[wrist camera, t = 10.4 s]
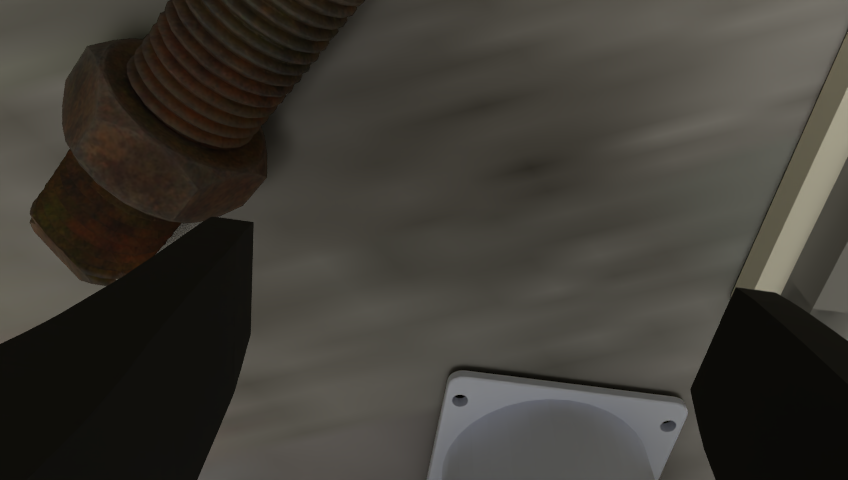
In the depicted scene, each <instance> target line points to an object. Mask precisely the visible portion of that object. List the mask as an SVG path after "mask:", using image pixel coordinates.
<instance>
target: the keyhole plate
mask: <svg viewBox="0 0 848 480" xmlns="http://www.w3.org/2000/svg"><path fill="white" fill-rule="evenodd" d="M736 287H739V288H746V289H754V290H761V291H768V292H775V293H777V294H779V295H781V296H782V297H784V298H786V299H788V300H789V301H791V302H793V303H794V304H796V305H797V306H799V307H800V308H802V309H803V310H805V311H806V312H808V313H809V314H811V315H812V316H814V317H815V318H816V319H818V320H819V321H821V322H822V323H824V324H825V325H826V326H828V327H829V328H831V329H832V330H833V331H835V332H836V333H838V334H839V335H840V336H842V337H843V338H845V339H846V340H847V341H848V32H847V34H846V37H845V39H844V41H843V43H842V46H841V48H840V50H839V52H838V55H837V57H836V59H835V61H834V64H833V66H832V68H831V71H830V73H829V75H828V77H827V80H826V82H825V84H824V86H823V89H822V91H821V93H820V95H819V98H818V100H817V102H816V104H815V107H814V109H813V111H812V113H811V116H810V118H809V120H808V122H807V125H806V127H805V129H804V131H803V134H802V136H801V138H800V140H799V143H798V145H797V147H796V149H795V152H794V154H793V156H792V159H791V161H790V163H789V165H788V168H787V170H786V172H785V174H784V177H783V179H782V181H781V183H780V186H779V188H778V190H777V192H776V195H775V197H774V199H773V201H772V204H771V206H770V208H769V210H768V213H767V215H766V217H765V219H764V222H763V224H762V226H761V228H760V231H759V233H758V235H757V237H756V240H755V242H754V244H753V247H752V249H751V251H750V253H749V256H748V258H747V260H746V262H745V265H744V267H743V269H742V271H741V274H740V276H739V278H738V280H737V283H736V285H735V287H734V289H733V292H734V290H735V288H736ZM733 292H732V294H733ZM732 294H731V297H732Z"/></svg>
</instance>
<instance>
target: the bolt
mask: <svg viewBox="0 0 848 480" xmlns="http://www.w3.org/2000/svg"><path fill="white" fill-rule="evenodd" d="M364 1H365V0H170V1H168V2H167V4H166V7H165V11H164V12H162V13H160V15H159V18H158V20H157V23H156V24H154V25H153V26H152V29H151V31H150V34H148V35H147V36H146V37H145V38H144V40H142V39H121V40H112V41H108V42H103V43H99V44H95V45H90V46H87V47H86V49H85V51H84V52H83V54H82V55H81V57H80V58H79V60H78V62H77V63H76V65H75V66H74V68H73V70H72V71H71V73H70V74H69V76H68V78H67V79H66V82H65V89H64V97H63V104H62V125H63V130H64V135H65V140H66V143H67V145H68V146H69V148H70V150H69V151H68V152H67V154H66V156H65V158H64V159H63V160H62V162H61V163H60V165H59V167H58V168H57V169H56V171H55V172H54V174H53V176H52V177H51V178H50V180H49V181H48V183H46V185H45V188H44V190H42V192H41V193H40V194H39V196H38V197H37V199H36V200H35V201H34V202H33V204H32V207H31V210H30V215H31V217H32V218H31V220H30V224H31V226H32V228H33V230H34V232H35V233H36V234H37V235H38V236H39V237H40V238H41V239H42V241H43V242H44V243H45V244H46V245H47V246H48V247H49V248H50V249H51V250H52V251H53V252H54V253H55V255H56V256H57V257H58V258H59V259H60V260H61V261H62V262H63V263H64V264H65V265H66V266H67V267H68V268H69V269H70V270H71V271H72V272H73V273H74V274H75V275H76V276H77V277H78V278H79V280H81V281H85V282H88V283H91V284H97V285H104V286H108V285H110V284H111V283H113V282H115V281H116V279H120V278H121V277H123V276H124V275H126V274H127V273H129V272H130V271H132V270H133V269H135V268H136V267H138V266H139V265H141V264H142V263H144V262H145V261H147V260H148V259H150V258H151V257H153V256H154V255H155V254H156V253H157V252H158V251H159V250H160V248H161V247H162V246H163V245H164V244H166V241H167V239H168V238H170V237H171V236H172V235H173V232H174V231H175V230H176V229H177V228H178V227H179V225H180V224H181V223H195V222H201V221H205V220H207V219H208V218H210V217H218V216H221V215H223V214H225V213H228V212H230V211H232V210H234V209H236V208H239V207H241V206H243V205H244V204H245V202H246V201H247V200H248V199H249V198H250V197H251V195H252V194H253V193H254V192H255V191H256V190H257V188H258V187H259V186H260V185H261V184H262V183H263V182H264V180H265V179H266V178H267V150H266V142H265V136H264V133H263V131H262V128H261V125H262V124H264V123H265V122H266V121H267V120H268V118H269V115H271V114H272V113H273V112H274V111H275V110H276V108H277V105H278V104H280V103H282V102H283V100H284V98H285V97H286V94H288V93H290V92H291V91H292V89H293V86H294V84H295V83H297V82H299V81H300V80H301V76H302V74H303V73H305V72H307V71H308V70H309V68H310V65H311V63H312V62H314V61H316V60H317V59H318V57H319V54H320V51H323V50H325V49H326V47H327V46H328V44H329V41H330V40H331V39H332V38H333V37H334V36H335V35H336V34H337V33H338V28H340V27H343V26H344V24H345V23H346V21H347V17H348V16H352V15H353V14H354V12H355V11H356V9H357V6H359V5H361V4H362V3H363V2H364Z"/></svg>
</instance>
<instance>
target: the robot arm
mask: <svg viewBox="0 0 848 480" xmlns="http://www.w3.org/2000/svg"><path fill="white" fill-rule="evenodd" d="M252 259H253V222H248V221H241V220H233V219H226V218H219V217H210V218H208V219H207V220H205V221H203V222H202V223H200V224H199V225H198V226H196V227H195V228H193V229H192V230H190V231H189V232H187V233H186V234H185V235H183V236H182V237H180V238H179V239H177V240H176V241H175V242H173V243H172V244H170V245H169V246H167V247H166V248H164V249H163V250H162V251H160V252H159V253H157V254H156V255H154V256H153V257H151V258H150V259H148V260H147V261H145V262H144V263H142V264H141V265H139V266H138V267H136V268H135V269H133V270H132V271H130V272H129V273H127V274H126V275H124V276H123V277H121V278H120V279H118V280H116V281H115V282H113V283H111V284H110V285H108V286H106V287H105V288H103V289H101V290H99V291H98V292H96V293H94V294H93V295H91V296H89V297H88V298H86V299H84V300H83V301H81V302H79V303H78V304H76V305H74V306H72V307H71V308H69V309H67V310H66V311H64V312H62V313H61V314H59V315H57V316H55V317H53V318H51V319H50V320H48V321H46V322H44V323H42V324H40V325H38V326H36V327H34V328H32V329H30V330H28V331H26V332H24V333H22V334H20V335H18V336H16V337H14V338H12V339H10V340H8V341H6V342H3V343H1V344H0V480H197V479H198V476H199V474H200V472H201V469H202V467H203V465H204V462H205V460H206V458H207V455H208V453H209V451H210V449H211V446H212V444H213V442H214V439H215V437H216V434H217V432H218V430H219V427H220V425H221V423H222V420H223V418H224V416H225V413H226V411H227V408H228V406H229V404H230V401H231V399H232V396H233V394H234V391H235V388H236V384H237V381H238V377H239V374H240V371H241V367H242V364H243V360H244V356H245V353H246V349H247V345H248V341H249V338H250V334H251V298H252ZM690 390H691V395H692V399H693V404H694V409H695V414H696V418H697V423H698V427H699V431H700V435H701V439H702V443H703V447H704V450H705V453H706V455H707V458H708V461H709V464H710V466H711V469H712V471H713V474H714V477H715V479H716V480H848V341H847V340H846V339H845V338H843V337H842V336H840V335H839V334H838V333H836V332H835V331H833V330H832V329H831V328H829V327H828V326H826V325H825V324H824V323H822V322H821V321H819V320H818V319H816V318H815V317H814V316H812V315H811V314H809V313H808V312H806V311H805V310H803V309H802V308H800V307H799V306H797V305H796V304H794V303H793V302H791V301H789V300H788V299H786V298H784V297H782V296H781V295H779V294H777V293H775V292H768V291H761V290H754V289H746V288H739V287H736V288H735V290H734V292H733V294H732V297H731V299H730V301H729V303H728V306H727V308H726V310H725V312H724V315H723V317H722V319H721V321H720V324H719V326H718V328H717V330H716V333H715V335H714V337H713V339H712V342H711V344H710V346H709V349H708V351H707V353H706V355H705V358H704V360H703V362H702V364H701V367H700V369H699V371H698V373H697V376H696V378H695V380H694V382H693V385H692V387H691V389H690ZM456 395H464V396H465V397H463V398H456V397H454V396H456ZM687 415H688V410H687V408H686V405H685V403H684V401H683V400H682V399H680V398H678V397H673V396H665V395H657V394H649V393H641V392H633V391H625V390H617V389H609V388H601V387H593V386H586V385H578V384H570V383H562V382H554V381H546V380H538V379H530V378H522V377H514V376H506V375H498V374H490V373H482V372H474V371H466V370H460V371H456V372H453V373H452V374H451V375H450V376H449V378H448V380H447V384H446V388H445V393H444V398H443V402H442V407H441V412H440V417H439V421H438V426H437V431H436V436H435V440H434V445H433V450H432V454H431V459H430V464H429V469H428V473H427V478H426V480H659V478H660V475H661V473H662V471H663V469H664V467H665V464H666V462H667V460H668V458H669V456H670V453H671V451H672V449H673V447H674V444H675V442H676V440H677V438H678V436H679V433H680V431H681V429H682V427H683V425H684V422H685V420H686V418H687ZM670 420H671V421H670ZM665 421H670V422H668V423H663V422H665Z"/></svg>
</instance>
